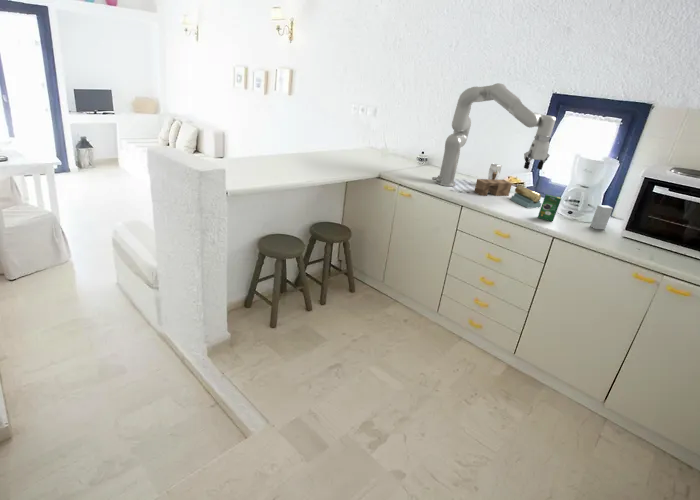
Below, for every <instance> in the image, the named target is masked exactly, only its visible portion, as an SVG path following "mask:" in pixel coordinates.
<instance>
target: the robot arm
mask: <svg viewBox="0 0 700 500" xmlns="http://www.w3.org/2000/svg"><path fill="white" fill-rule="evenodd" d="M489 101H495V102H496V103H497V104H499V106H501V107H502V108H504V109H505V111H507V112H508V113H509V114H510V115H511V116H513V117H514V118H515V119H516V120H517V121H519V122H520V123H521V124H522V125H524V126H525V127H527V128H529V129H530V128H531V129H532V128H534V127H537V129H536V133H535V135H534V139H533V140H532V142H531V145H530V147H529V150H528V151H526V152H525V153H524V156H523V157H524V158H523V159H524V162H525V163H524V165H523V169H526V170H528V169H529V168H530V165H531V161H533V160H537V161H538V163H537V167H536V169H538V170H541V171H542V169H543V166H544V163H546V161H547V160H548V159H549V158H550V154H549V150H550V149H549V148H550V140H551V135H552V133H553V130H554V127H555V123H556V120H557V118H556V116H552V115H550V114H549V115H548V114H541V113H538V112H533V111H532V110H531V109H529V108H528V107H527V106H526V105H525V104H523V102H522V100H521V99H520V97H518V96H517V95H516V94H514V93H513V92H512V91H510V90H509V89H508V88H507V86H506V85H505V84H504V83H494V84H491V85H486V86H484V85H483V86H471V87H469V88H466V89H465V90H463V91H462V93H460V95H459V98H458V99H457V103H456V106H455V107H456V108H455V110H454V114H453V117H452V122H451V128H452V130H453V133H451V134H450V135H448V136H447V137H446V140H445V143H444V144H445V145H444V150H443V151H444V152H443V157H442V162H441V168H440V171H439V175H437V176H433V177H431V180H432V181H435V183H436V184H438V185H441V186H445V187H455V186H456V184H457V183H456V182H455V177H456V174H457V173H456V172H457V169H458V164H459V159H460V154H461V148H463V147H464V146H465V145H466V144H467V140H468V137H469V133H470V129H471V126H472V120H471V117H469V116H470V112H471V109H472V105H473V104H474V103H483V102H489Z"/></svg>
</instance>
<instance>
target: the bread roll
mask: <svg viewBox="0 0 700 500" xmlns="http://www.w3.org/2000/svg"><path fill="white" fill-rule="evenodd" d="M514 193H518V194H520V195H522V196H524V197H526V198H528V199H530V200H532V201H534V202H538V201H541V199H542V195H541V193H538V192H536V191H533V190H531V189H529V188H528V187H525V186H522V185H520V184H519V185H517V186H516V187H515V189H514Z"/></svg>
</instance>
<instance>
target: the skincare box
mask: <svg viewBox="0 0 700 500" xmlns="http://www.w3.org/2000/svg"><path fill="white" fill-rule="evenodd" d="M613 210H614V208H613V207H612V206H610V205H608V204H607V205H602V204H597V206H596V209H595V211H594V215H593V216H592V220H591V222H590V225H589V226H590V227H591V228H592V227H593V228H592V229H594V230H606V228H607V225H608V223H609V220H610V218H611V214H612V212H613Z"/></svg>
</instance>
